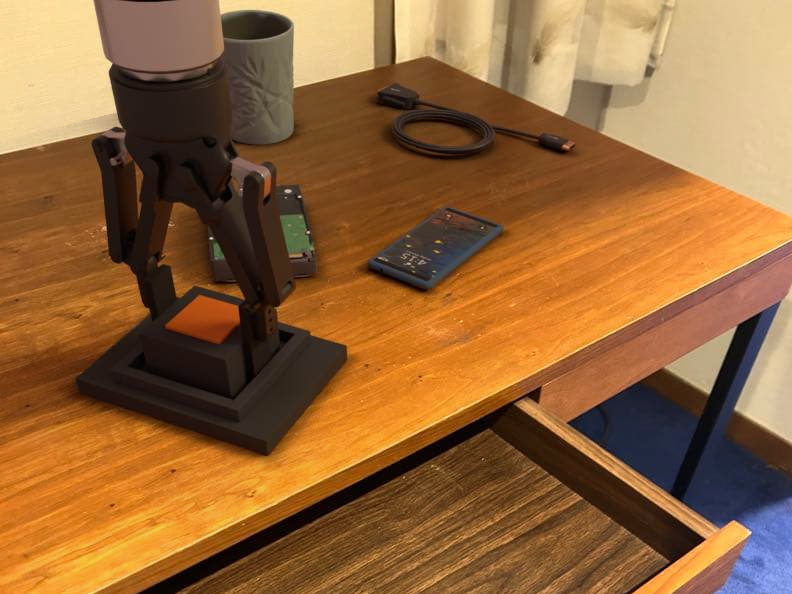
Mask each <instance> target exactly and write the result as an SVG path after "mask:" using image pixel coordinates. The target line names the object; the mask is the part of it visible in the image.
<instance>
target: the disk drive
mask: <svg viewBox="0 0 792 594" xmlns="http://www.w3.org/2000/svg"><path fill="white" fill-rule="evenodd" d="M275 198H276V202H277V206H278V211H279V215H280V219H281V224H282V228H283V232H284V237H285V241H286V245H287V250H288V254H289V258H290V263H291V267H292V271H293V276H294V278H299V277H310V276H311V275H312V276H313V275H316V274H317V273H318V268H317V255H316V250H315V240H314V237H313V235H312V231H311V226H310V222H309V218H308V213H307V209H306V205H305V202H304V197H303V191H302V189H301V186H300V184H281V185H276V190H275ZM239 199H240V206H239V209H240V211H241V214H242V216H243V218H244V220H245V222H246V219H245V215H244V210H243V197H240V196H239ZM219 201H220V198H219V199H217V200H216V201H215V202H213V203H212V204H213V206H214V205H216V204H217V203H218V202H219ZM246 224H247V223H246ZM206 226H207V238H208V253H209V260H210V267H211V268H210V269H211V275H212V281H213V282H223V283H224V282H230V283H231V282H236V280H235V278H234V276H233V273H232V271H231V269H230V267H229V265H228V263H227V261H226V259H225V257H224V255H223V253H222V251H221V249H220V247H219V245H218V243H217V241H216V239H215V237H214V235H213V233H212V231H211V229H210V227H209V226H208V225H206Z"/></svg>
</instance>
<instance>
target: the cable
mask: <svg viewBox="0 0 792 594" xmlns="http://www.w3.org/2000/svg"><path fill="white" fill-rule="evenodd" d="M376 98H377V104H380V105H385V106H390V107H395V108H398V109H403V110H409V111H405V112H402V113H401V114H399V115H397V116H396V117H395V118H394V119H393V123H392V125H391V133H392V134H393V135H394V137H395V138H396V139H398V140H399V141H400V142H402V143H404V144H406V145H408V146H410V147H413V148H415V149H419V150H423V151H426V152H431V153H435V154H443V155H470V154H474V153H479V152H481V151H484V150H486V149H488V148H489V147H490V146H491V145H492V144H493V141H494V140H495V136H496V133H495V130H496V131H501V132H504V133H508V134H509V133H510V134H514V135H517V136H522V137H526V138H528V139H529V138H530V139H534V140H537V141H538V143H540V144H541V145H544V146H545V147H549V148H551V149H555V150H558V151H567V152H570V151H571V150H573V149H574V148H575V147H576V142H573V141H570V140H569V139H568V138H566V137H561V136H559V135H557V134H556V135H555V134H551V133H547V132H546V133H545V132H542V133H541V134H540V135H536V134H532V133H529V132H524V131H521V130H516V129H512V128H507V127H503V126H497V125H493V124H490V123H489V122H487V121H486V120H485V119H483V118H482V117H479V116H476V115H475V114H471V113H468V112H464V111H460V110H457V109H453V108H449V107H446V106H442V105H438V104H434V103H431V102H427V101H422V100H421V99H420V94H418V92H417V91H415V90H413V89H410V88H408V87H405V86H403V85H401V84H400V83H397V82H393V83H392V84H390V85H386V86H384V87H382V88H380V89H378V90H377V91H376ZM417 106H424V107H428V108H420V109H415V108H416V107H417ZM418 119H437V120H438V119H439V120H446V121H451V122H456V123H460V124H462V125H466V126H471V127H473V128H475V129H476V130H478V131H479V132H480V133H481V134H482V137H483V138H482V139H480V141H478V142H476V143H472V144H469V145H468V144H467V145H458V146H457V145H456V146H451V145H450V146H449V145H438V144H433V143H428V142H424V141H421V140H418V139H416V138H413V137H412V136H409V135H408V134H406V133H405V132H404V131H403V130H402V127H403V125H404V124H406V123H408V122H410V121H413V120H418Z"/></svg>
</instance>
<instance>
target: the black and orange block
mask: <svg viewBox="0 0 792 594" xmlns="http://www.w3.org/2000/svg"><path fill="white" fill-rule="evenodd" d="M180 297H181V298H180V299H178V300H177V301H176V302H175V303H174V304H173V305H172V306H171V307H169V308H168V309H167V310H166V311H165V312H164V313H163V314H161V315H160V316H159V317H158V318H157V319H155V320H154V321H153V322H152V323H151V324H150V325H149V326H147V327H146V328H145V329H144V330H143V331H142V332H141V333H139V335H140V339H141V344H142V348H143V352H144V357H145V361H146V365H147V369H148V373H150V374H153V375H156V376H159V377H162V378H165V379H169V380H172V381H175V382H178V383H181V384H184V385H187V386H191V387H194V388H197V389H200V390H203V391H206V392H209V393H212V394H216V395H219V396H222V397H225V398H228V399H231V400H233V399H234V398H235V397H236V396H237V395H238V393H239V392H240V391H241V390H242V389H243V388H244V387H245V386H246V385H247V384H248V383H249V382H250V381H251V379H252V378H251V377H248V376H247V368H246V360H245V352H244V345H243V341H242V333H241V326H240V318H239V310H238V306H239V305H240V304H241V303H242V302H244V301H245V298H242V297H241V298H240V297H237V296H234V295H230V294H227V293H223V292H220V291H217V290H214V289H213V290H212V289H209V288H206V287H202V286H199V285H193V286H192V287H191V288H190V289H189V290H187V291H186V292H185V293H184V294H183V295H182V296H180ZM274 311H275V321H276V322H275V323H276V331H275V333H274V334H273V335H272V336H271V338H270V339H269V341H270V350H271V358H272V357H273V356H274V355H275V354H276V353H277V351H278V350H279V349H280V340H279V329H278V322H279V318H278V309H277V307H274Z"/></svg>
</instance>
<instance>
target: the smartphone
mask: <svg viewBox="0 0 792 594" xmlns="http://www.w3.org/2000/svg"><path fill="white" fill-rule="evenodd" d="M503 231H504V226H503V225H502V224H500V223H497V222H493V221H491V220H488V219H485V218H482V217H479V216H477V215H474V214H471V213H470V212H469V213H468V212H465V211H462V210H460V209H457V208H454V207H451V206H448V205H447V206H443V207H442V208H440V209H439V210H437V211H436V212H435V213H433V214H432V215H431V216H429V217H428V218H426V219H425V220H424V221H422V222H421V223H419V224H418V225H417V226H415V227H414V228H412V229H411V230H409V231H408V232H406V233H405V234H404V235H402V236H401V237H400V238H398V239H396V240H395V241H394V242H392V243H391V244H389V245H388V246H387V247H386V248H384V249H383V250H381V251H379V252H378V253H376V255H374V256H372V257H371V258H370V259H368V261H367V267H368V268H370V269H372V270H375V271H377V272H380V273H382V274H384V275H387V276H390V277H392V278H395V279H397V280H400V281H403V282H405V283H407V284H410V285H413V286H415V287H417V288H420V289H423V290H431V289H432V288H433V287H434V286H436V285H437V284H439V282H441V281H442V280H443V279H445V278H446V277H447V276H448V275H450V274H451V273H452V272H453V271H455V270H456V269H457V268H459V267H460V266H461V265H462V264H464V262H466V261H467V260H469V259H470V258H471V257H473V256H474V255H475V254H476V253H477V252H479V251H481V249H483V248H484V247H485V246H487V244H489V243H490V242H491V241H493V240H494V239H495V238H496V237H497V236H499V235H500V234H501V233H502V232H503Z"/></svg>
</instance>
